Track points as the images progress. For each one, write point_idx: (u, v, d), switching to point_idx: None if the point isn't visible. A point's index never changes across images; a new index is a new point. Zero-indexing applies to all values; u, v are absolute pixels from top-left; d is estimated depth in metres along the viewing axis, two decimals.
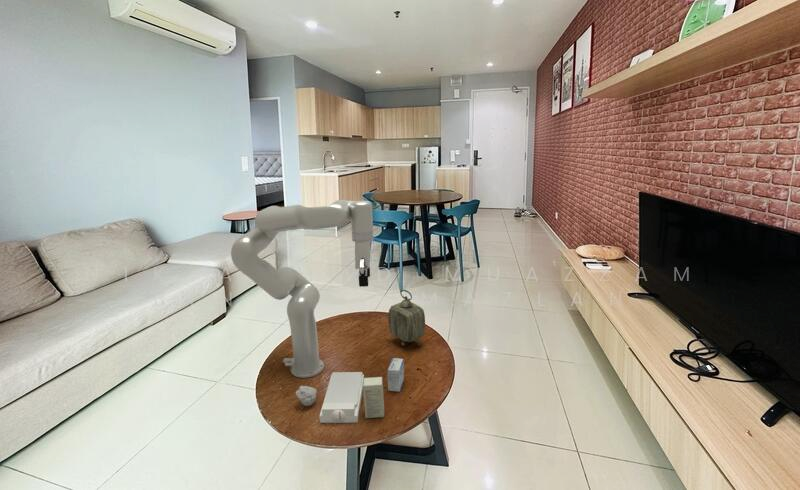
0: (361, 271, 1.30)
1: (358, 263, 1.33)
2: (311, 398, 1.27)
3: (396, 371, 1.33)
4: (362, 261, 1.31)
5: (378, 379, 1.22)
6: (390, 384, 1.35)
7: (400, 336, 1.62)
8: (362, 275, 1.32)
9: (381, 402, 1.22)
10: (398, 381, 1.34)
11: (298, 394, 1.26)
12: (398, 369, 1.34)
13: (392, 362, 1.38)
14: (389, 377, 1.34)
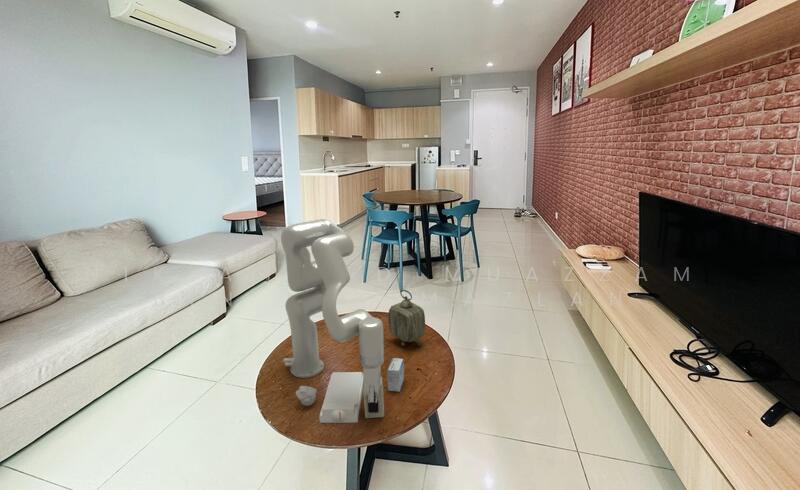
0: None
1: (367, 393, 1.18)
2: (311, 398, 1.27)
3: (396, 371, 1.33)
4: (372, 395, 1.16)
5: None
6: (390, 384, 1.35)
7: (400, 336, 1.62)
8: (372, 402, 1.19)
9: (381, 402, 1.22)
10: (398, 381, 1.34)
11: (298, 394, 1.26)
12: (398, 369, 1.34)
13: (392, 362, 1.38)
14: (389, 377, 1.34)
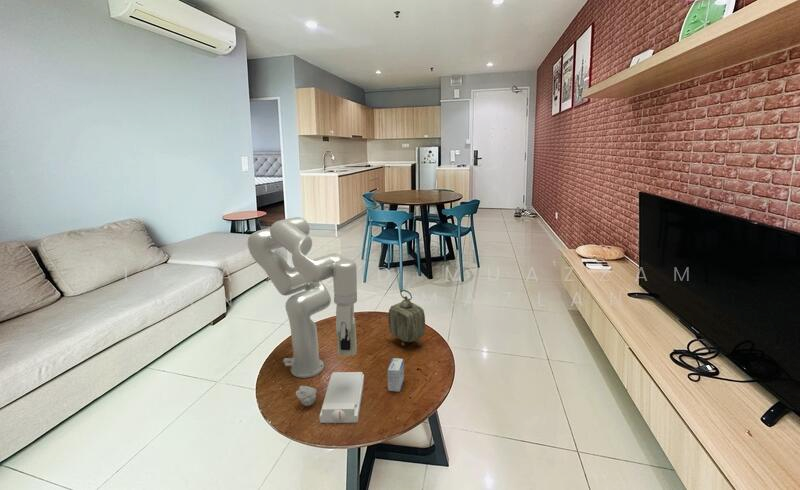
0: (342, 338, 1.24)
1: (339, 330, 1.24)
2: (311, 398, 1.27)
3: (396, 371, 1.33)
4: (343, 331, 1.23)
5: None
6: (390, 384, 1.35)
7: (400, 336, 1.62)
8: (344, 340, 1.26)
9: (353, 340, 1.28)
10: (398, 381, 1.34)
11: (298, 394, 1.26)
12: (398, 369, 1.34)
13: (392, 362, 1.38)
14: (389, 377, 1.34)
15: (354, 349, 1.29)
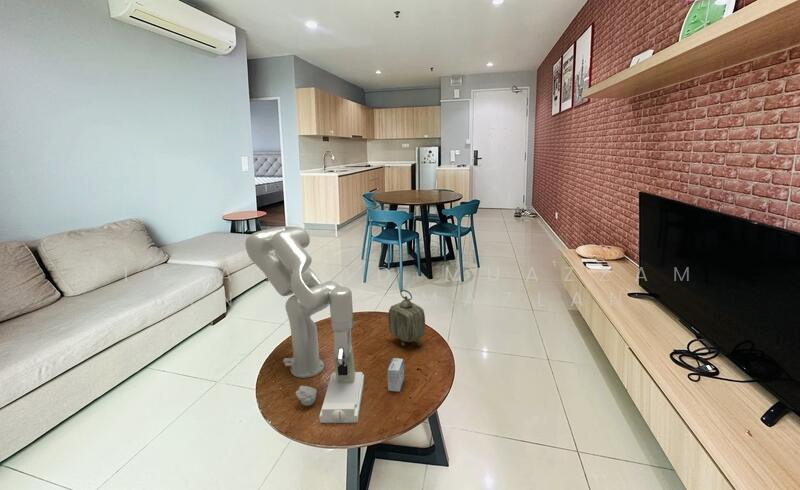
0: (339, 362, 1.26)
1: (337, 353, 1.29)
2: (311, 398, 1.27)
3: (396, 371, 1.33)
4: (341, 352, 1.27)
5: None
6: (390, 384, 1.35)
7: (400, 336, 1.62)
8: (341, 365, 1.28)
9: (351, 368, 1.34)
10: (398, 381, 1.34)
11: (298, 394, 1.26)
12: (398, 369, 1.34)
13: (392, 362, 1.38)
14: (389, 377, 1.34)
15: (352, 377, 1.35)
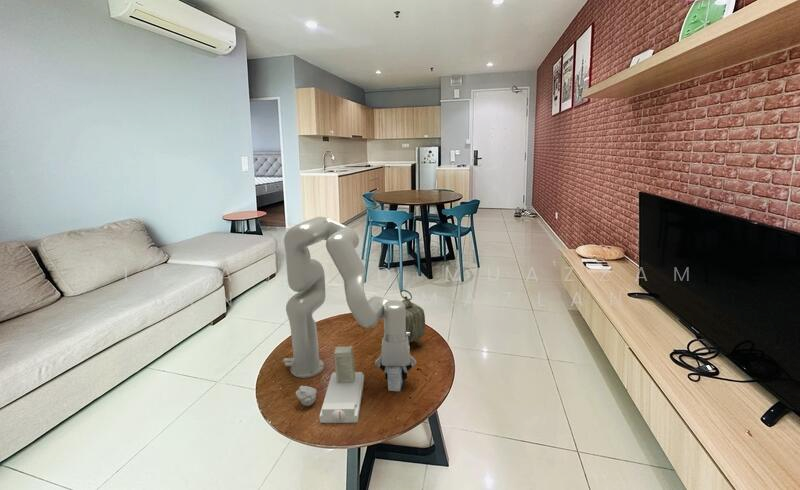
0: None
1: None
2: (311, 398, 1.27)
3: (396, 371, 1.33)
4: (378, 359, 1.36)
5: (348, 348, 1.34)
6: (390, 384, 1.35)
7: None
8: None
9: (351, 368, 1.34)
10: (398, 381, 1.34)
11: (298, 394, 1.26)
12: (398, 369, 1.34)
13: None
14: (389, 377, 1.34)
15: (352, 377, 1.35)
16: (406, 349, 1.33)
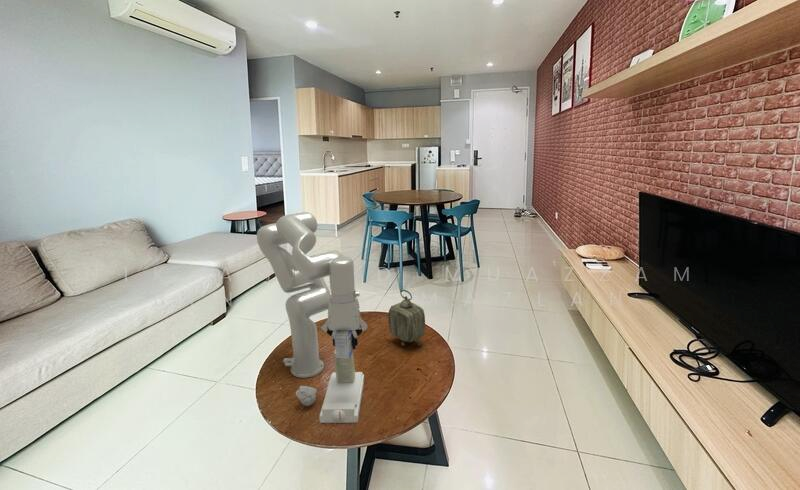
0: None
1: None
2: (311, 398, 1.27)
3: (344, 336, 1.20)
4: (325, 323, 1.22)
5: None
6: (338, 350, 1.21)
7: (400, 336, 1.62)
8: None
9: (351, 368, 1.34)
10: (346, 347, 1.20)
11: (298, 394, 1.26)
12: (346, 333, 1.20)
13: None
14: (336, 342, 1.21)
15: (352, 377, 1.35)
16: (355, 311, 1.19)
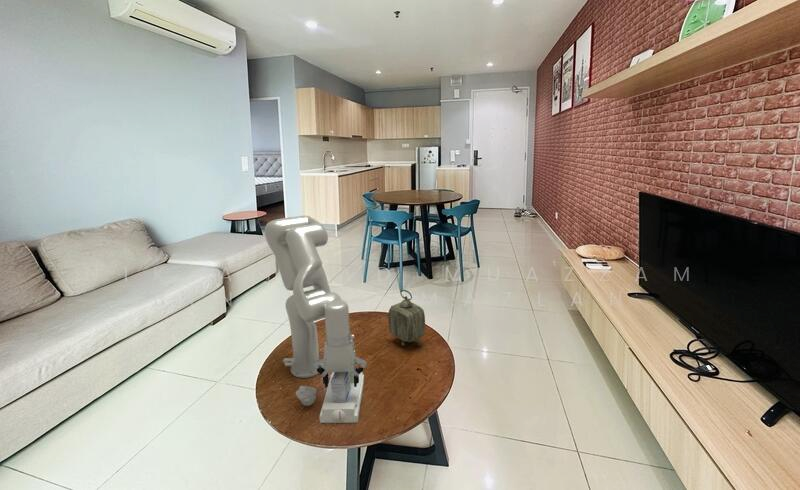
0: None
1: None
2: (311, 398, 1.27)
3: (340, 381, 1.23)
4: (320, 359, 1.25)
5: None
6: (334, 395, 1.24)
7: (400, 336, 1.62)
8: None
9: None
10: (343, 391, 1.24)
11: (298, 394, 1.26)
12: (342, 378, 1.23)
13: None
14: (333, 388, 1.24)
15: (352, 377, 1.35)
16: (350, 354, 1.22)
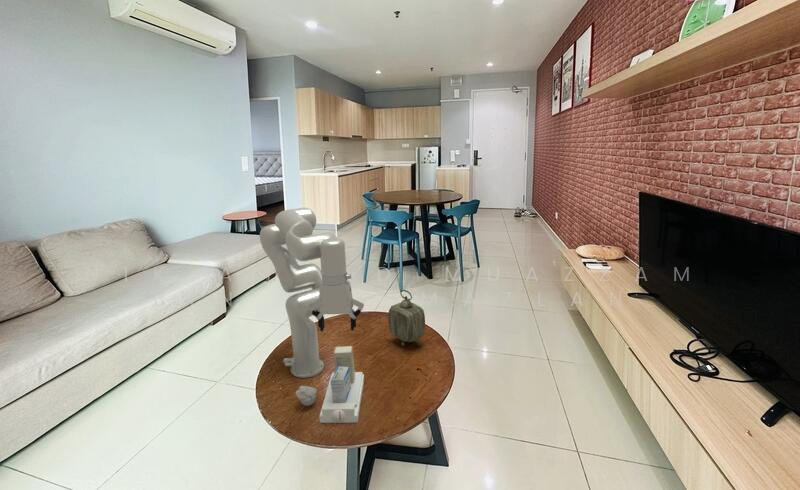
0: None
1: None
2: (311, 398, 1.27)
3: (340, 381, 1.23)
4: (316, 301, 1.19)
5: (348, 348, 1.34)
6: (334, 395, 1.24)
7: (400, 336, 1.62)
8: None
9: (351, 368, 1.34)
10: (343, 391, 1.24)
11: (298, 394, 1.26)
12: (342, 378, 1.23)
13: (336, 371, 1.27)
14: (333, 388, 1.24)
15: (352, 377, 1.35)
16: (346, 294, 1.16)
